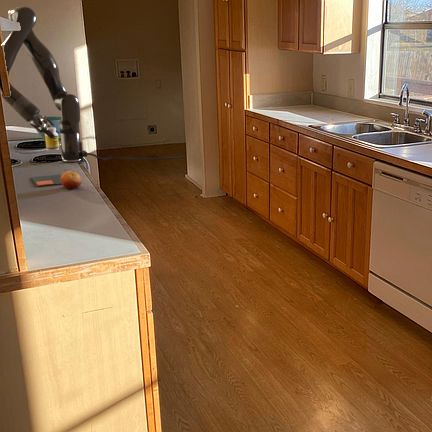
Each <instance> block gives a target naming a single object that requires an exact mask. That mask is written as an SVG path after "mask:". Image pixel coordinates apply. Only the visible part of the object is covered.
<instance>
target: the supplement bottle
mask: <svg viewBox="0 0 432 432" xmlns="http://www.w3.org/2000/svg"><path fill="white" fill-rule="evenodd" d="M48 129H49V130H50V131H51V132H52V133H53V134H54V135H55V136H54V137H53V138H52V139H51V138H50V137H48V136H47V135H46V134H45V139H46V140H45V148H46V151H58V150H59V149H60V142H59V139H58V133H56V128H54V127H49V128H48Z"/></svg>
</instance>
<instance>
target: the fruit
mask: <svg viewBox="0 0 432 432" xmlns="http://www.w3.org/2000/svg"><path fill="white" fill-rule="evenodd" d="M61 175H62V176H61V183H62V184H61V185H62V187H61V188H62V189H63V188H65V189H68V190H74V189H77V188H80V186H81V185H82V177H81V175H80V174H79V173H77V172H75V171H71V170H67V171H65V172H63V173H62V174H61Z"/></svg>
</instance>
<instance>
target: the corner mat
mask: <svg viewBox="0 0 432 432" xmlns="http://www.w3.org/2000/svg"><path fill="white" fill-rule="evenodd" d="M61 176H62V174H53V175H43V176H42V175H41V176H32V177H31V179H32V181H33V182H34V184H35V185H36V187H38V188H39V187H49V186H58V185H59V186H61V185H62V183H61Z"/></svg>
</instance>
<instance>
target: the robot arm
mask: <svg viewBox="0 0 432 432" xmlns="http://www.w3.org/2000/svg"><path fill="white" fill-rule="evenodd" d="M7 18H8V21H9V20H11V21H15V22H19V23H20V26H21V30H20V31H13V30H12V31H11V33H10V34H9V36H8V37H7V38H6V39H5V40H4V42H3V43H2V45H4V52H5V60H6V66H7V71H8V76H9V74H10V72H11V70H12V67H13V64H14V63H15V60H16V58H17V56H18V53H19V51H20V49H21V47H23V46H24V48H25V50H26V51H27V53H28V56H29V57H30V58H31V61H32V63H33V65H34V67H35V68H36V70H37V72H38V73H39V76H40V77H41V79H42V81H43V83H44V84H45V86H46V88H47V90H48V93H49V94H50V97H51V99H52V102H53V104H54V106H55V108H56V109H57V110H58V111H60V113H61V117H62V118H61V120H60V121H59V128H60V133H59V132H58V131H57V130H56V133H58V135H59V134H60V138H59V139H60V148H61V160H62V162H64V163H78V162H83V161H84V158H86V157H87V158H88V156H92V157H95V158H96V159H97V160H99V161H108V160H118V159H119V160H132V161H167V160H179V159H185V156H174V157H159V158H157V157H156V158H155V157H154V158H150V157H149V158H145V157H126V156H125V157H124V156H110V157H103V158H102V157H99V156H98V155H96V154H95V153H90V152H87V150H83V145H82V144H83V142H82V141H81V132H80V121H81V105H80V101H79V98H78V97H77V95H75V94H73V93H69V92H68V91H67V90H66V88H65V86H64V85H63V83H62V81H61V77H60V70H59V66H58V64H57V61H56V59H55V58H54V56H53V54H52V52H51V51H50V50H49V48H48V47H47V46H46V45H45V44H44V42H42V41H41V40H40V38H39V37H38V36H37V34H36V33H35V31H34V29H33V28H34V26H36V23H37V14H36V12H35V10H33V9H32V8H31V7H29V6H17V7H16V6H15V7H12V8H10V9H9V10H8V13H7ZM9 84H10V91H11V96H10V97H4V96H3V94H2V96H1V98H2V99H3V101H4V102H6V103H7V104H8V105H9V106H10V107H11V108H12V109H13V110H14V111H15V112H16V113H17V114H18V115H19V116H20V117H21V118H22V119H23V120H24V121H26V122H28V123H29V125H30V126H31V127H33V128H34V129H35V130H36V129H37V130H38V131H39V132H41V133H42V132H43V133H45V134H46V135H47V136H48V137H50V138H51V139H52V138H53V137H54V136H55V135H54V134H53V133H52V132H51V131H50V130H49V129H48V128H49V127H54V124H53V123H52V122H51V121H50V120H49V119H48V118H47V117H48V116H47V115H42V114H40V112H41V109H39V108H38V107H37V106H36V105H35V104H34V103H33V102H32V101H31V100H29V98H27V97H26V96H24V95H23V94H22V93H21V92H20V91H19V90H18V89H17V88H16V87H14V85H12V83H11V82H10V81H9ZM49 125H50V126H49ZM47 126H48V127H47ZM37 130H36V131H37Z"/></svg>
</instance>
